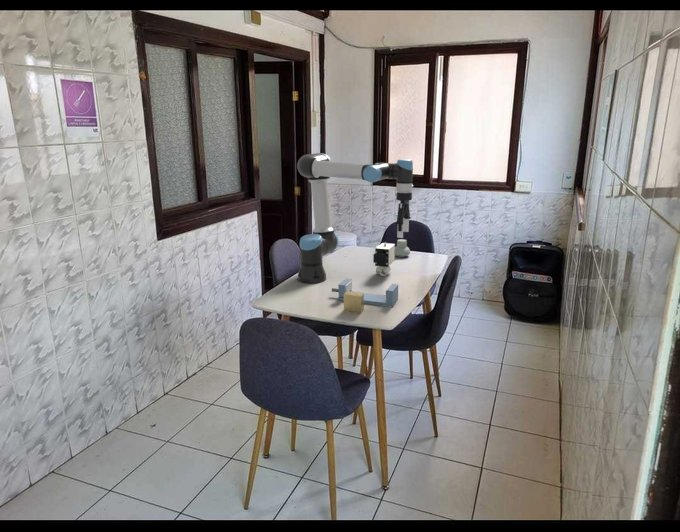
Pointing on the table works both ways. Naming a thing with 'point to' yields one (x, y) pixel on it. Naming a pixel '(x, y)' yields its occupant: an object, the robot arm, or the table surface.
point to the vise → (381, 297)
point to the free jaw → (343, 287)
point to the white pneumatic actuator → (384, 258)
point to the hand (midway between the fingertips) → (403, 234)
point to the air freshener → (402, 248)
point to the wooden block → (354, 302)
